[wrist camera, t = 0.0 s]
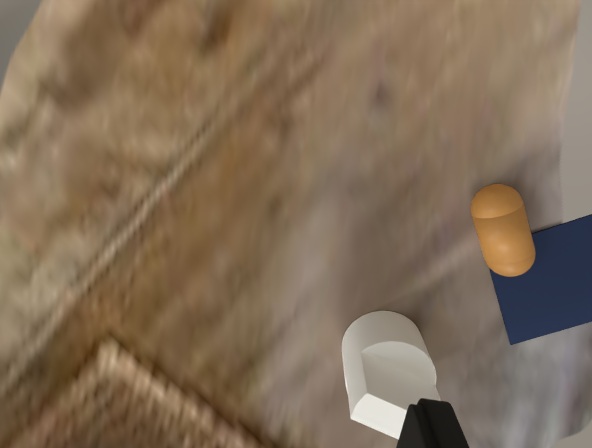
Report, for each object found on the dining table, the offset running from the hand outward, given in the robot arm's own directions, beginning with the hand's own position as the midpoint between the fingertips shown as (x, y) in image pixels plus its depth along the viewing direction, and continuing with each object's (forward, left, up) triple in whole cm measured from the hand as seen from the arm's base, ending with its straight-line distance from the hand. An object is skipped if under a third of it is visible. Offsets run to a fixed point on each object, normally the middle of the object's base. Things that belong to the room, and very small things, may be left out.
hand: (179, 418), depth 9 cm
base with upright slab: (+20, +14, -37) cm, 44 cm away
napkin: (+9, +30, -37) cm, 48 cm away
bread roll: (+4, +22, -37) cm, 43 cm away
